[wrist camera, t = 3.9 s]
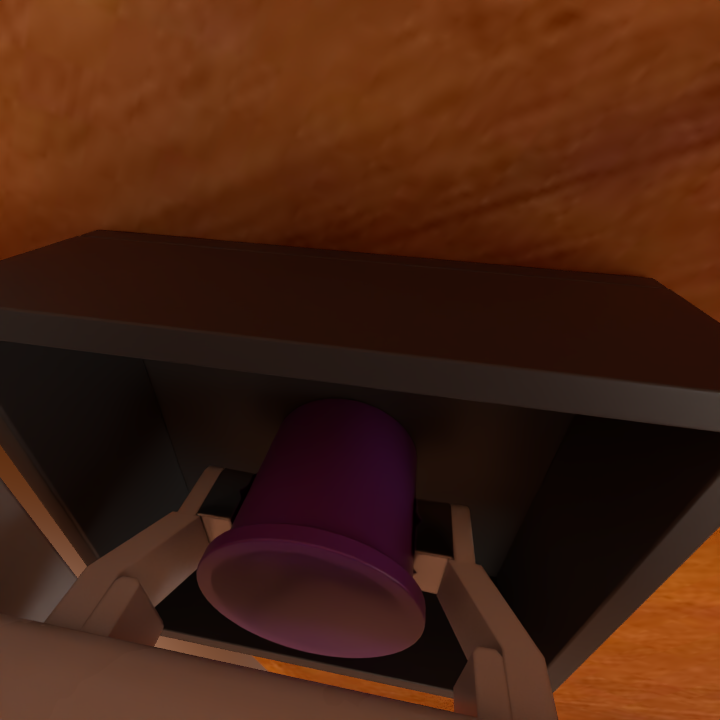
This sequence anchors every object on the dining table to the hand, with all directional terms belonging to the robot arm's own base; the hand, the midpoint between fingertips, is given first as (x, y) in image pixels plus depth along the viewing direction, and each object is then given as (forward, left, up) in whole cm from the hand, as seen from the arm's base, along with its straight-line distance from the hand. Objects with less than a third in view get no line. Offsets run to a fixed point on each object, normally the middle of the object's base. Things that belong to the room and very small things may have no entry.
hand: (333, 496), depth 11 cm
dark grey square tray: (0, 0, -2) cm, 2 cm away
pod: (0, 0, -2) cm, 2 cm away
